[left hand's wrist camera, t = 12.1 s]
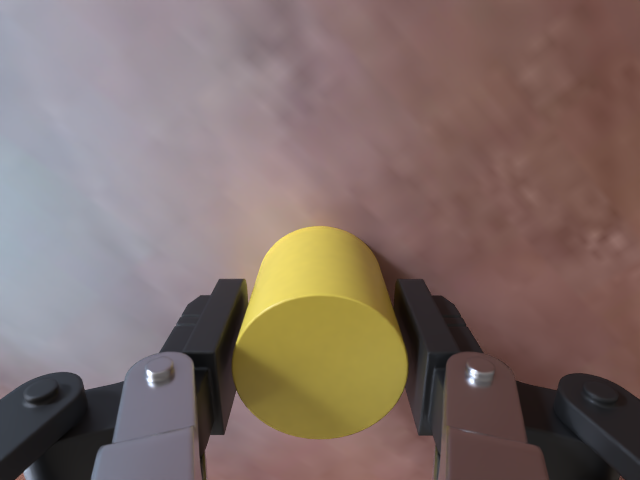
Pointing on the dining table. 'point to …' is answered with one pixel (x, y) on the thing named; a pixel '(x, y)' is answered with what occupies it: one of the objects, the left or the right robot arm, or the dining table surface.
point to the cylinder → (320, 338)
